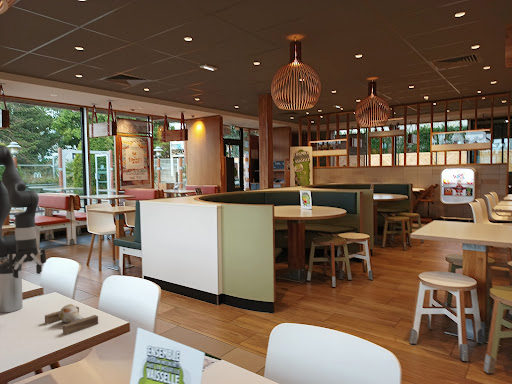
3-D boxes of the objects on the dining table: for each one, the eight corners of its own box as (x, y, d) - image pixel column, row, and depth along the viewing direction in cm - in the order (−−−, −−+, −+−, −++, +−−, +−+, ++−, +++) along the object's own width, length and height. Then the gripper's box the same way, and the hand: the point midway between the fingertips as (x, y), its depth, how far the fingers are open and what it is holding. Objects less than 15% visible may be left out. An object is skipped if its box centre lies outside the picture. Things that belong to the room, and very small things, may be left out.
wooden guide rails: (44, 322, 151) (44, 315, 150) (76, 312, 161) (76, 306, 161) (66, 334, 140) (65, 327, 140) (98, 323, 150) (98, 316, 150)
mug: (73, 330, 145) (61, 307, 145) (65, 333, 151) (53, 312, 151) (90, 319, 151) (79, 298, 151) (82, 323, 157) (71, 302, 157)
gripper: (40, 235, 163) (41, 271, 164) (3, 239, 152) (4, 278, 152) (47, 236, 159) (49, 273, 159) (10, 241, 147) (12, 281, 148)
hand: (27, 275), depth 156 cm, fingers open, 8 cm apart
